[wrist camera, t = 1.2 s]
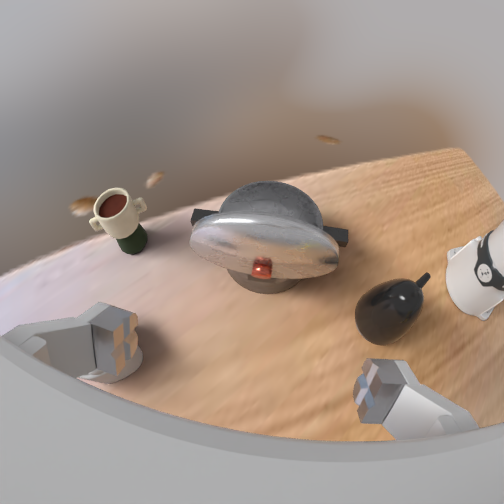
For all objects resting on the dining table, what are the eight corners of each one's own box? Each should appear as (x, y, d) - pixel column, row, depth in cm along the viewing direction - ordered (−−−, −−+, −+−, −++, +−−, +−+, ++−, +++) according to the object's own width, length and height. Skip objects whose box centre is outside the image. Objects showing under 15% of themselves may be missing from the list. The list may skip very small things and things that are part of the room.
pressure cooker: (331, 312, 49) (350, 288, 39) (188, 291, 51) (174, 263, 41) (333, 227, 58) (348, 192, 48) (210, 210, 59) (204, 173, 50)
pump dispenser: (407, 325, 47) (453, 295, 34) (371, 361, 44) (415, 342, 31) (375, 285, 51) (411, 245, 38) (337, 318, 48) (368, 284, 35)
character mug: (154, 219, 58) (136, 177, 47) (163, 245, 55) (143, 205, 44) (108, 238, 56) (82, 201, 44) (114, 266, 53) (85, 230, 41)
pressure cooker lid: (321, 274, 39) (319, 293, 39) (205, 258, 41) (202, 275, 40) (359, 227, 24) (359, 254, 23) (176, 201, 25) (168, 228, 24)
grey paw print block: (148, 365, 44) (129, 358, 36) (91, 393, 40) (65, 389, 33) (126, 315, 48) (106, 298, 41) (73, 343, 45) (47, 331, 37)
